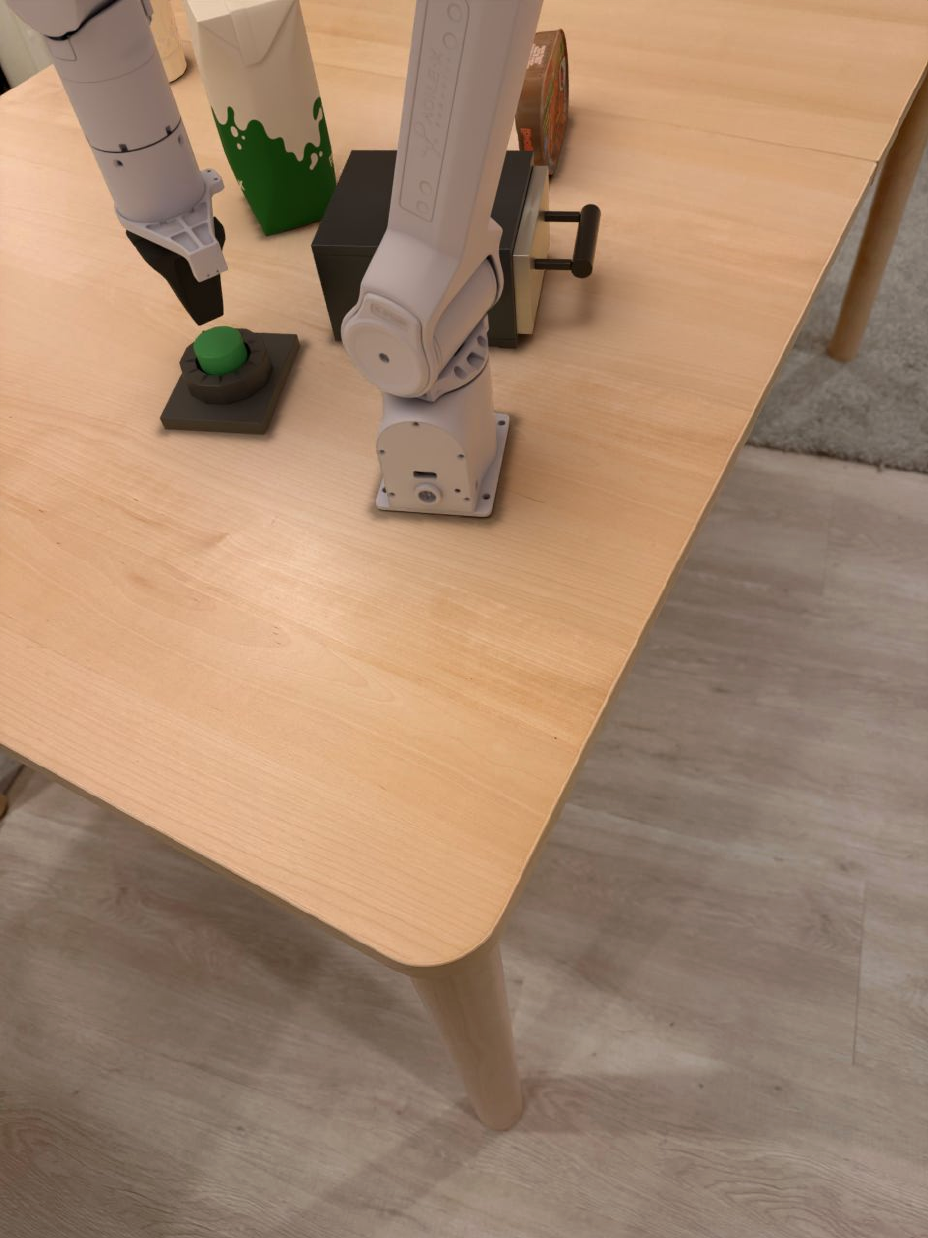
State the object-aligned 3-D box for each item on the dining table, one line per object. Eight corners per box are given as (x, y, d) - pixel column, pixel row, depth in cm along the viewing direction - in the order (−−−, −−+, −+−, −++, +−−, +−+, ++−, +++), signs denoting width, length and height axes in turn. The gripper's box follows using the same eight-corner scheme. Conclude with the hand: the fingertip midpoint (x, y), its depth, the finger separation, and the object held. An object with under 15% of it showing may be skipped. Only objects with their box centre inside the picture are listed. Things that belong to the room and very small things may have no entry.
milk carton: (353, 216, 84) (300, -38, 67) (257, 245, 82) (178, -5, 66) (327, 169, 88) (271, -78, 72) (235, 196, 87) (158, -49, 71)
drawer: (602, 245, 76) (604, 165, 71) (588, 336, 70) (590, 257, 65) (392, 241, 79) (379, 164, 74) (362, 328, 73) (345, 251, 68)
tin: (548, 193, 83) (546, 97, 76) (514, 192, 83) (509, 96, 76) (571, 105, 91) (571, 10, 84) (540, 105, 91) (537, 11, 84)
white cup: (109, 88, 102) (68, -14, 94) (142, 53, 106) (107, -48, 98) (172, 92, 100) (136, -12, 92) (204, 56, 104) (172, -46, 96)
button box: (264, 435, 69) (253, 405, 66) (165, 429, 70) (150, 399, 68) (300, 345, 74) (291, 314, 72) (207, 342, 75) (194, 311, 73)
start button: (239, 377, 69) (232, 358, 67) (194, 375, 69) (186, 356, 68) (253, 344, 71) (247, 326, 69) (209, 343, 71) (202, 324, 70)
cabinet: (536, 249, 78) (533, 149, 71) (516, 348, 71) (510, 249, 64) (370, 245, 81) (351, 149, 74) (335, 341, 74) (310, 245, 67)
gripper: (242, 152, 53) (300, 345, 64) (153, 60, 60) (219, 247, 71) (127, 199, 51) (207, 388, 62) (50, 99, 58) (134, 283, 70)
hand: (208, 315), depth 67 cm, fingers closed
